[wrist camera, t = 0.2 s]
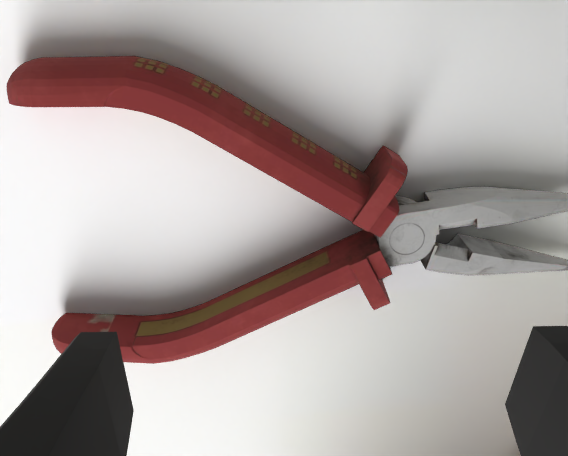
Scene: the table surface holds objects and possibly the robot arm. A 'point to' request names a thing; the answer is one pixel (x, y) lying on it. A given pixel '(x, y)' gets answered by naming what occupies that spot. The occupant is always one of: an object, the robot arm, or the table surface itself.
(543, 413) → the robot arm
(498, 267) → the pliers
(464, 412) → the table surface
